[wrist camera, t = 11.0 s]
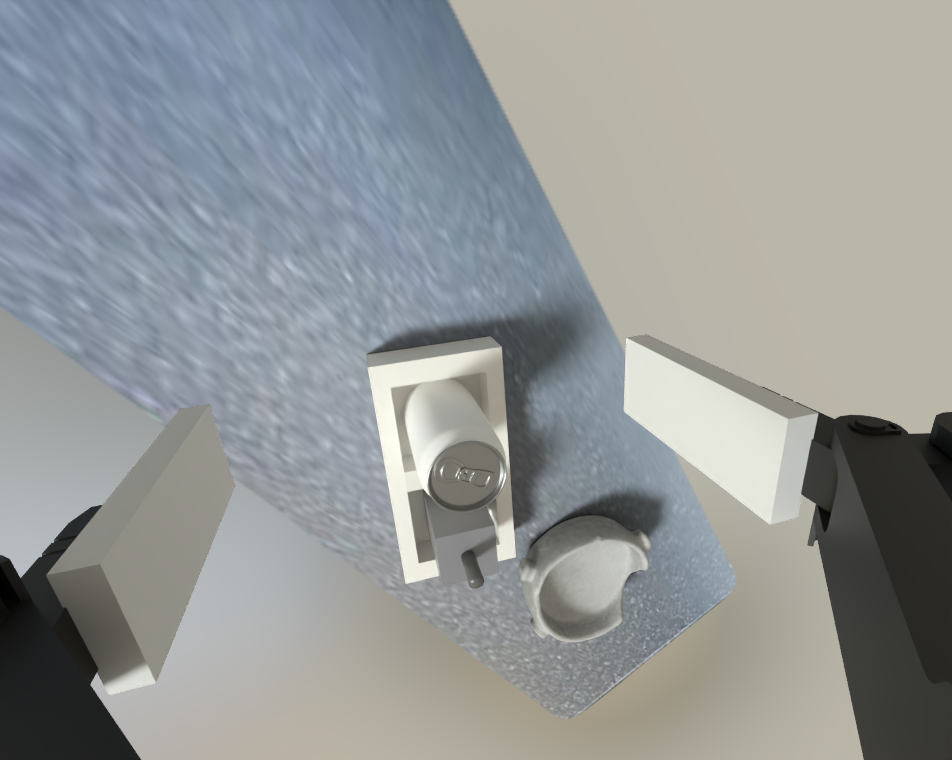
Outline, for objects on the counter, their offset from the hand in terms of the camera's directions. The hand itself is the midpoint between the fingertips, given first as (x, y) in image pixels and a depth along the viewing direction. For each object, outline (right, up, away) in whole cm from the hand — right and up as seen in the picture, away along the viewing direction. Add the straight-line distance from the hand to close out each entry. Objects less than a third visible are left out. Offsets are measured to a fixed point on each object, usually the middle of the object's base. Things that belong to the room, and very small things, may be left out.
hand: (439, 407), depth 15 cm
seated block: (-1, -11, +32) cm, 34 cm away
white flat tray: (-2, -6, +31) cm, 32 cm away
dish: (+12, -20, +40) cm, 46 cm away
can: (-2, -2, +29) cm, 29 cm away
